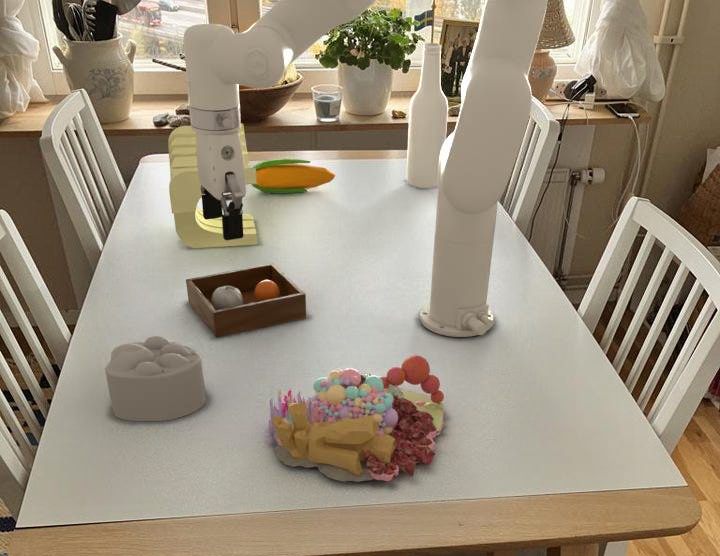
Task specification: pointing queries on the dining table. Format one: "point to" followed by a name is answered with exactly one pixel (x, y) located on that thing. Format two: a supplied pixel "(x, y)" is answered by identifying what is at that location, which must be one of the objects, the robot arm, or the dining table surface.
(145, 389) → the lumpy-topped squat cylinder
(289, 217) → the dining table surface
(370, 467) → the colourful coral reef
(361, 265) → the dining table surface
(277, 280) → the wooden tray
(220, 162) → the robot arm
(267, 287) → the mandarin
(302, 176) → the corn
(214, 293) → the garlic
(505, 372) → the dining table surface
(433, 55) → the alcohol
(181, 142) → the slatted curved stool
